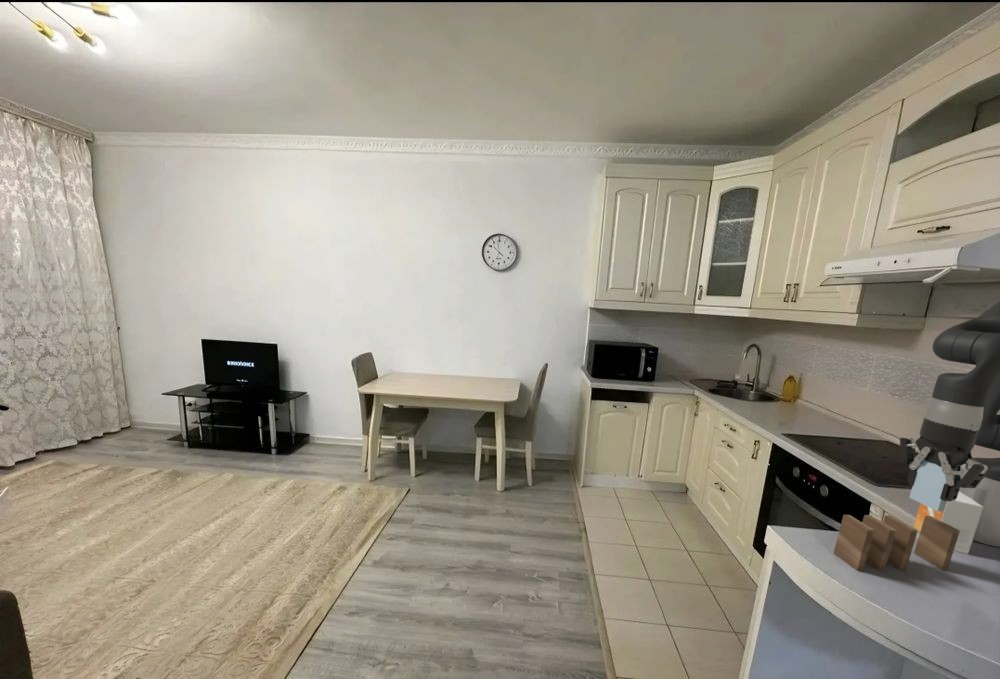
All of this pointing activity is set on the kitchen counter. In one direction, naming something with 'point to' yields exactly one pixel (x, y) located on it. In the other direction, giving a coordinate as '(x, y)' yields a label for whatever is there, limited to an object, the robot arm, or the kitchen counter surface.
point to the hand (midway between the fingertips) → (929, 492)
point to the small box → (955, 519)
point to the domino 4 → (929, 486)
